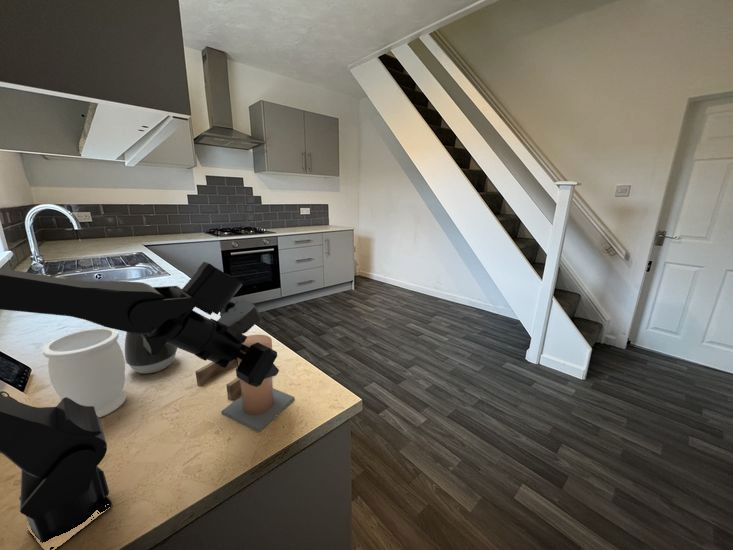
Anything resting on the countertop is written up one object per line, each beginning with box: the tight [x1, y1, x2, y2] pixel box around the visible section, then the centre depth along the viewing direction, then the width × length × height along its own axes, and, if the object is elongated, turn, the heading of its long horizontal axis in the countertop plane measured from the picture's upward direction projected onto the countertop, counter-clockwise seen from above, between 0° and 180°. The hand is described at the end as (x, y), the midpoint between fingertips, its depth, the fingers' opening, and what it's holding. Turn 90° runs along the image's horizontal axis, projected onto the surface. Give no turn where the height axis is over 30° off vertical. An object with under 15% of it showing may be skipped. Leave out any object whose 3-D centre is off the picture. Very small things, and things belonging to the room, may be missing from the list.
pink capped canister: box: [237, 334, 274, 415], centre depth 57 cm, size 7×7×14 cm
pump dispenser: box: [124, 332, 178, 374], centre depth 69 cm, size 10×10×15 cm
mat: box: [221, 387, 295, 433], centre depth 59 cm, size 10×10×1 cm
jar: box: [41, 327, 127, 419], centre depth 56 cm, size 11×10×15 cm
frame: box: [194, 360, 241, 401], centre depth 67 cm, size 11×11×4 cm
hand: (262, 364), depth 58 cm, fingers open, 9 cm apart
